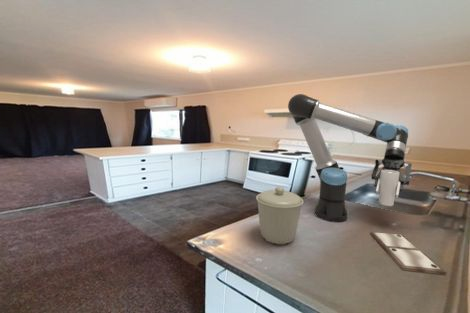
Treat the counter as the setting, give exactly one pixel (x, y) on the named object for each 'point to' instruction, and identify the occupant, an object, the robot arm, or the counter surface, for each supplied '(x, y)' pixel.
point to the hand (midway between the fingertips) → (386, 194)
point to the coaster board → (406, 253)
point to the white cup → (388, 187)
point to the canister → (279, 215)
